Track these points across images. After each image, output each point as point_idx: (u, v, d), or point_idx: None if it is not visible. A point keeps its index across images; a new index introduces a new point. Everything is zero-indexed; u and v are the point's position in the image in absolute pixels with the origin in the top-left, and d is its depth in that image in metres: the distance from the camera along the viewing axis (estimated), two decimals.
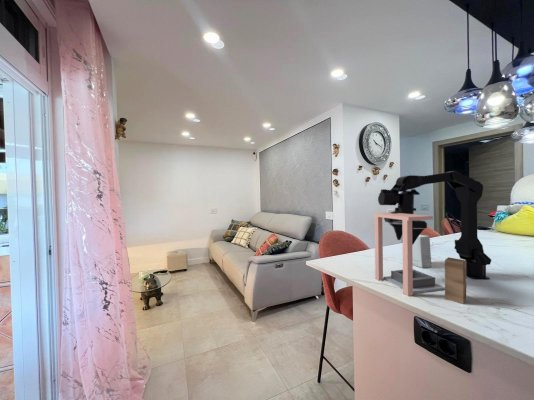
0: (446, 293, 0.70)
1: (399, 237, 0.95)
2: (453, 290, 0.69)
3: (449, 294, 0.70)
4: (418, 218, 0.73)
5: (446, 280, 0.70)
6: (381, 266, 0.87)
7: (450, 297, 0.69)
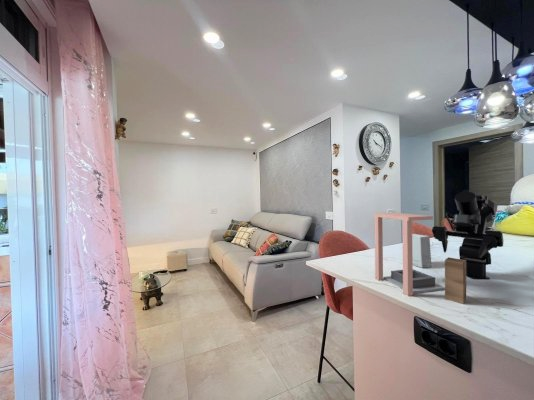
0: (446, 293, 0.70)
1: (445, 249, 0.79)
2: (453, 290, 0.69)
3: (449, 294, 0.70)
4: (418, 218, 0.73)
5: (446, 280, 0.70)
6: (381, 266, 0.87)
7: (450, 297, 0.69)
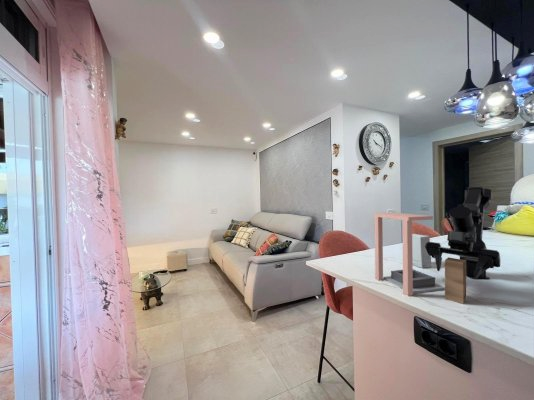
0: (446, 293, 0.70)
1: (439, 268, 0.74)
2: (453, 290, 0.69)
3: (449, 294, 0.70)
4: (418, 218, 0.73)
5: (446, 280, 0.70)
6: (381, 266, 0.87)
7: (450, 297, 0.69)
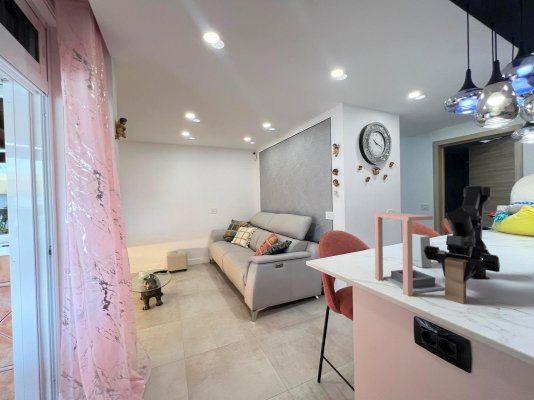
0: (446, 293, 0.70)
1: None
2: (453, 290, 0.69)
3: (449, 294, 0.70)
4: (418, 218, 0.73)
5: (446, 280, 0.70)
6: (381, 266, 0.87)
7: (450, 297, 0.69)
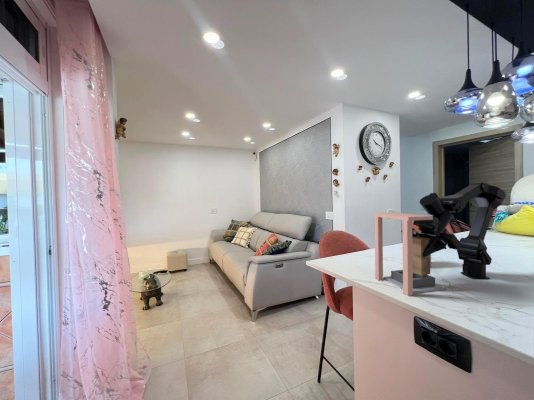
0: None
1: None
2: (415, 264, 0.79)
3: None
4: (418, 218, 0.73)
5: None
6: (381, 266, 0.87)
7: (413, 270, 0.80)
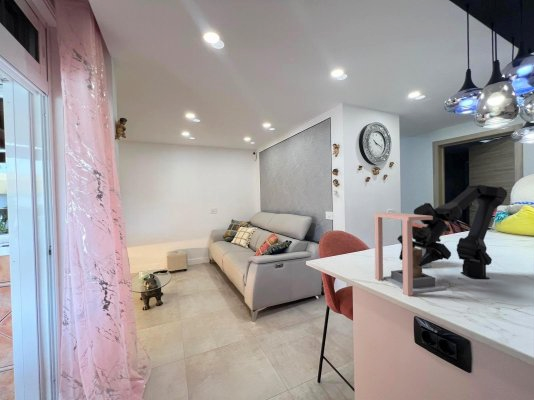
0: None
1: None
2: None
3: None
4: (418, 218, 0.73)
5: None
6: (381, 266, 0.87)
7: None
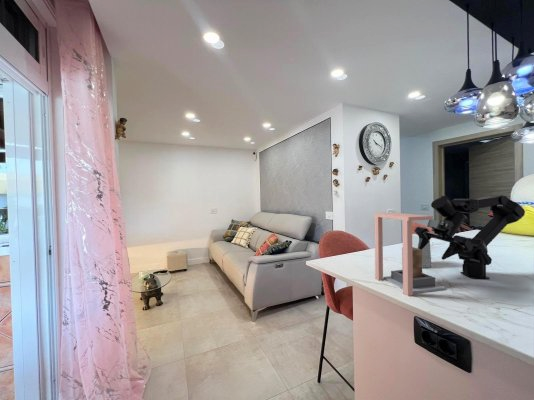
0: None
1: None
2: None
3: None
4: (418, 218, 0.73)
5: None
6: (381, 266, 0.87)
7: None
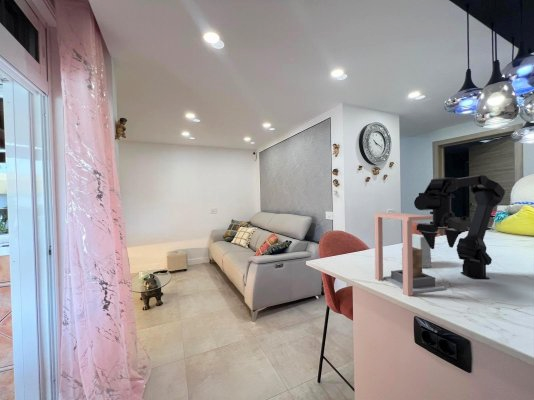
0: None
1: None
2: None
3: None
4: (418, 218, 0.73)
5: None
6: (381, 266, 0.87)
7: None
